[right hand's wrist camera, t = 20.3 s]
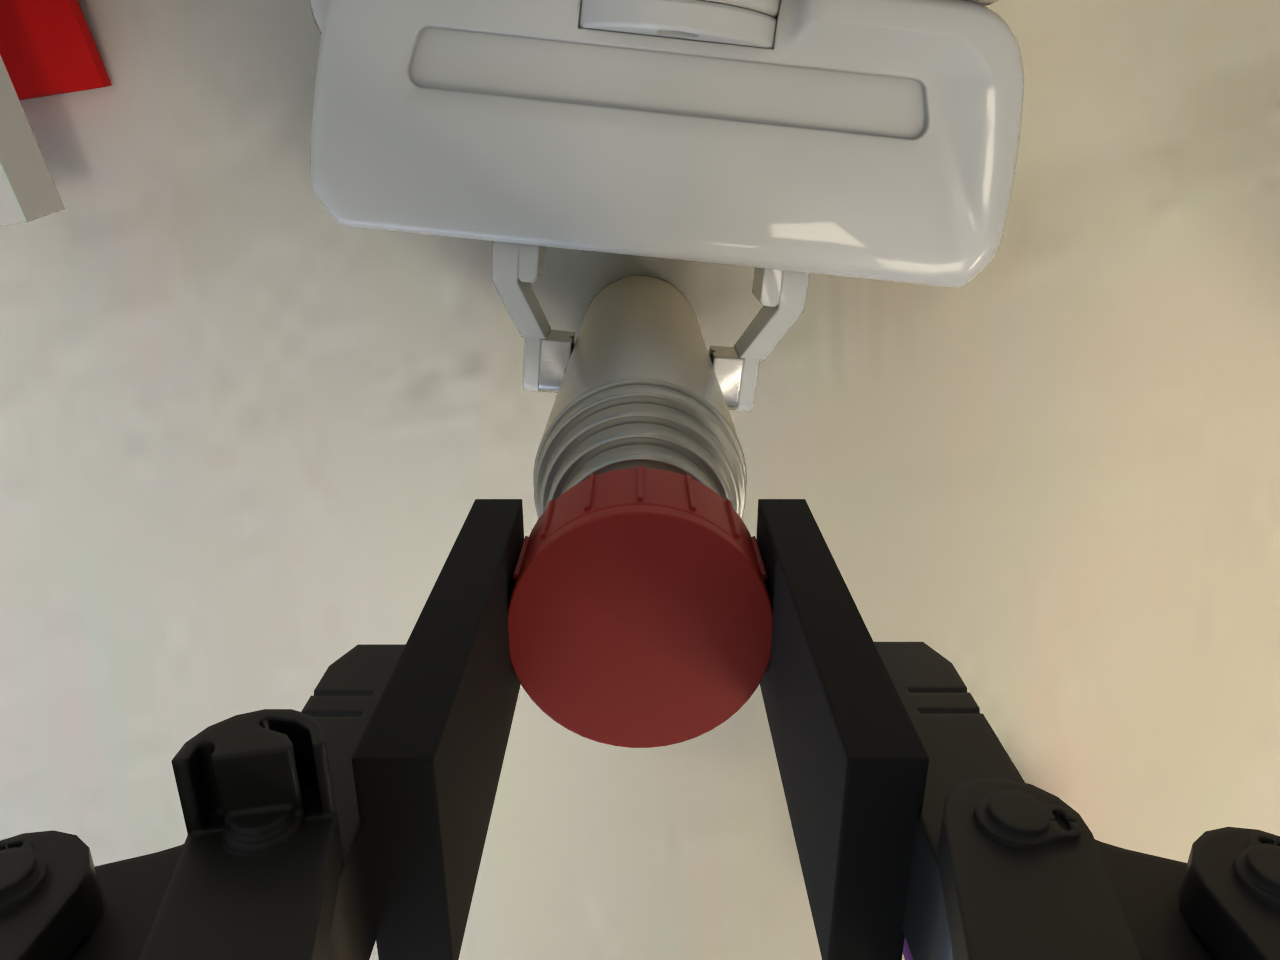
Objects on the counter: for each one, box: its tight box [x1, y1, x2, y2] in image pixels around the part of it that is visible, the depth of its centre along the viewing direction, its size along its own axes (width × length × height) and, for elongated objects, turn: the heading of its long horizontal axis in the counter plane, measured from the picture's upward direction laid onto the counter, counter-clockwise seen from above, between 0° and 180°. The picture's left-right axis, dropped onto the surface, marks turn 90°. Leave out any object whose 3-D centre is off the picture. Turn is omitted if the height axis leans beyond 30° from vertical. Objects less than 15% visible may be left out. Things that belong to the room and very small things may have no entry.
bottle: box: [534, 276, 747, 519], centre depth 24 cm, size 5×5×22 cm
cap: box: [508, 465, 773, 748], centre depth 14 cm, size 4×4×2 cm
